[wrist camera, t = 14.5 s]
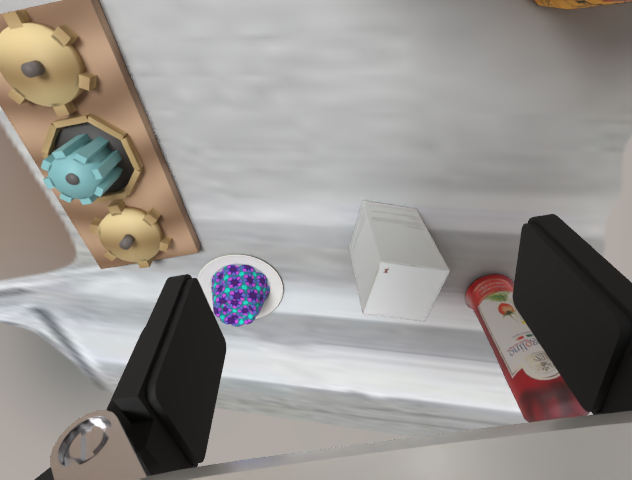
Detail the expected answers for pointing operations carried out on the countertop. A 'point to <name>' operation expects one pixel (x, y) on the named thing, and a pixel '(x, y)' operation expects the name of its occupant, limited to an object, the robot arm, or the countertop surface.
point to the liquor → (520, 353)
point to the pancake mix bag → (577, 3)
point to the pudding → (240, 289)
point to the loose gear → (82, 169)
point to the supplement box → (395, 262)
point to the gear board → (92, 128)
